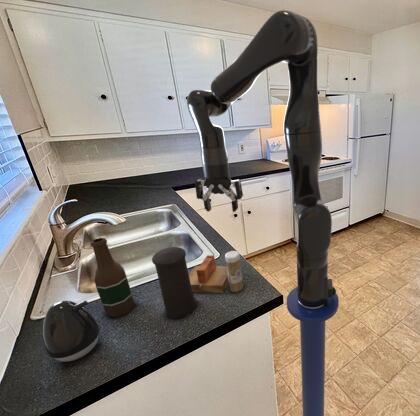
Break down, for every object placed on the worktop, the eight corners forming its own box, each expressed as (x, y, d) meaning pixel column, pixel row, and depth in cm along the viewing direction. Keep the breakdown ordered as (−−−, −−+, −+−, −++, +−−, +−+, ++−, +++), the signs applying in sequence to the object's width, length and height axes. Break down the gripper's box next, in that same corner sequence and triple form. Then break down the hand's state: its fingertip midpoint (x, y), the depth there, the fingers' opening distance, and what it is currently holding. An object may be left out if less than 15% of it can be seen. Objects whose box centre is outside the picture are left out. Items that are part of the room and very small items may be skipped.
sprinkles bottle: (238, 293, 88) (233, 258, 83) (226, 290, 90) (221, 256, 85) (246, 285, 92) (242, 251, 87) (234, 282, 94) (230, 249, 89)
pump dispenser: (96, 361, 66) (76, 312, 60) (43, 375, 62) (17, 325, 57) (110, 330, 74) (93, 285, 69) (64, 341, 71) (43, 294, 66)
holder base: (234, 271, 100) (233, 264, 99) (222, 295, 88) (220, 287, 87) (197, 270, 101) (196, 263, 100) (180, 294, 89) (178, 286, 87)
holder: (206, 283, 89) (204, 269, 87) (198, 282, 89) (196, 269, 87) (216, 267, 97) (214, 255, 95) (209, 267, 97) (207, 255, 96)
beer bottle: (130, 315, 80) (107, 244, 71) (100, 320, 78) (73, 248, 69) (139, 298, 87) (119, 232, 78) (112, 302, 85) (88, 235, 76)
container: (199, 297, 87) (188, 243, 80) (192, 317, 79) (180, 259, 71) (170, 300, 86) (157, 245, 78) (161, 321, 77) (145, 262, 70)
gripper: (186, 164, 78) (195, 215, 84) (234, 164, 78) (240, 215, 83) (197, 159, 85) (205, 206, 91) (241, 159, 85) (246, 206, 90)
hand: (222, 210), depth 87 cm, fingers open, 8 cm apart
